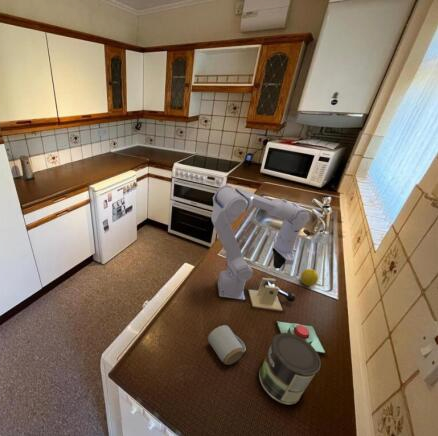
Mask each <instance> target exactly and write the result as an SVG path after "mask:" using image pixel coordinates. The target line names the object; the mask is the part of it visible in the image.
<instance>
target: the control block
mask: <svg viewBox="0 0 438 436" xmlns="http://www.w3.org/2000/svg"><path fill="white" fill-rule="evenodd" d="M275 324H276V327H277V330H278V332H279V334H280V333H290V334H294V335H296V334H295V328H296V326H297V325H303V326H305V327H306V328H307V329H308V330H309V335H308V337H307V338H305V339H304V340H305V341H307V342H308V343H309V344H310V345H311V346H312V347H313V348H314V349H315V350H316V352H317V353H318V355H319V354H320V355H325V354H326V351H325V349H324V347H323V345H322V343H321V341H320V339H319V337H318V335H317V332H316V331H315V329H314V327H313V326H312V325H304V324H301V323H291V322H283V321H278V320H277V321H276V323H275Z"/></svg>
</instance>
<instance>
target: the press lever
mask: <svg viewBox="0 0 438 436" xmlns="http://www.w3.org/2000/svg"><path fill="white" fill-rule="evenodd" d="M265 285H267V286H275V287H276V285H275V284H273V283H271V282H269V281H267V282H266V283H265V284H263V286H264V287H265ZM278 294H279V295H280V296H282V297H285V299H286V300H287V301H288V302H290V303H293V302H295V300H296V296H295V294H293V293H291V292H288V293H287V292H285V291H283V290H281V289H279V291H278Z"/></svg>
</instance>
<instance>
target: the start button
mask: <svg viewBox="0 0 438 436" xmlns="http://www.w3.org/2000/svg"><path fill="white" fill-rule="evenodd" d="M303 325H304V324H301V325H297V326H296V328H295V334H296V335H297V336H299V337H301V338H303V339H305V338H307V337H308V335H309V330H308V329H307V328H306V327H305V326H306V325H305V326H303Z"/></svg>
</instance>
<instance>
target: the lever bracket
mask: <svg viewBox="0 0 438 436" xmlns="http://www.w3.org/2000/svg"><path fill="white" fill-rule="evenodd" d="M267 281H269V282H271V283H273V284H274V285H275V284H276V281H277V280H276V278H271V277H261V279H260V284H259V287H258V289H257V290H256V289H248V294H249V299H250V302H251V306H252V308H256V309H263V310H264V309H265V310H271V311H278V312H283V307H282V305H281V302H280V299H279V297H278V294H279V293H278V291H279V290H280V287H279V286H276V285H275V286H267V285H265V287H264V286H263V284H265V283H266V282H267Z"/></svg>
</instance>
